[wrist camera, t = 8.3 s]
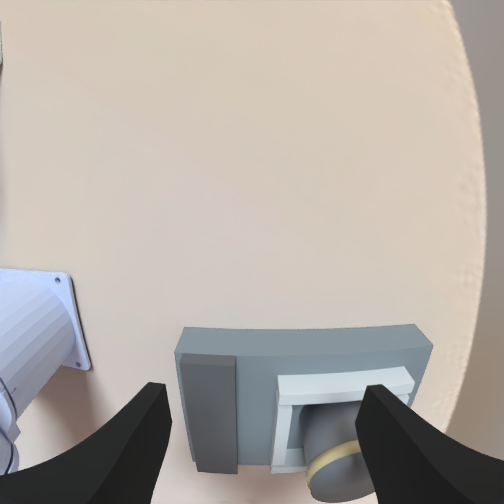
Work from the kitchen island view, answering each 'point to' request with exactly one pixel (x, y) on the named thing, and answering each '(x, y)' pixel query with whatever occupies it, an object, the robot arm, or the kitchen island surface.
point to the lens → (334, 452)
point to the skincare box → (0, 46)
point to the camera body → (283, 386)
